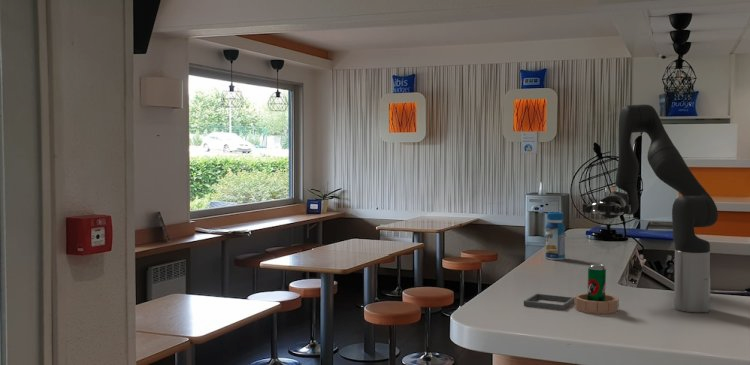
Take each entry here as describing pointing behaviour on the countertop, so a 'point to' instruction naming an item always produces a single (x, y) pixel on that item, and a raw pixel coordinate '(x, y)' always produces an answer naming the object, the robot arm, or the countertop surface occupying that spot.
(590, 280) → the soda can
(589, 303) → the bowl
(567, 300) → the tray
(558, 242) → the beverage bottle
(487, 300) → the countertop surface
